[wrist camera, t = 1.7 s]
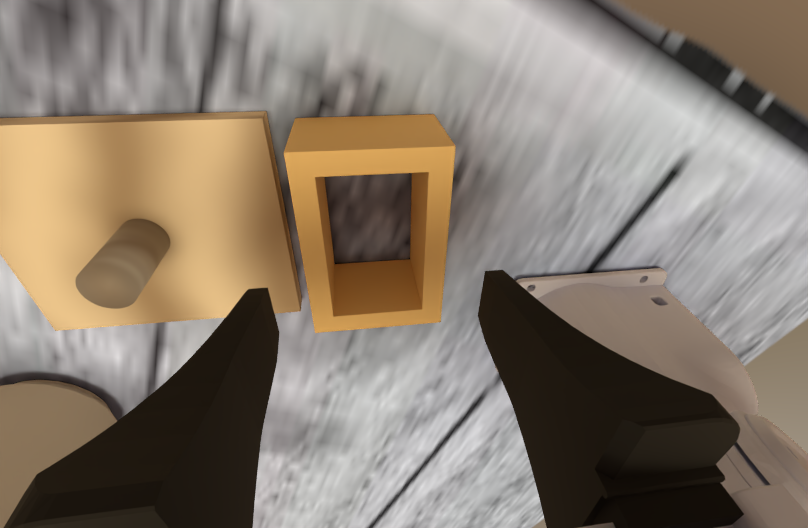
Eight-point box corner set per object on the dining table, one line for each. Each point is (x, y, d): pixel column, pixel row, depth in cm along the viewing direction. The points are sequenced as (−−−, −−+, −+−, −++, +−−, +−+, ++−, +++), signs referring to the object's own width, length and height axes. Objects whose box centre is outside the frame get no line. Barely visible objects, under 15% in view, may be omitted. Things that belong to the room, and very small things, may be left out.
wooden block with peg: (266, 111, 16) (244, 150, 12) (301, 298, 22) (294, 362, 18) (-67, 119, 15) (-201, 165, 11) (66, 316, 20) (7, 389, 17)
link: (433, 114, 17) (455, 146, 14) (425, 271, 22) (440, 321, 19) (295, 118, 16) (283, 152, 13) (319, 278, 21) (315, 332, 18)
